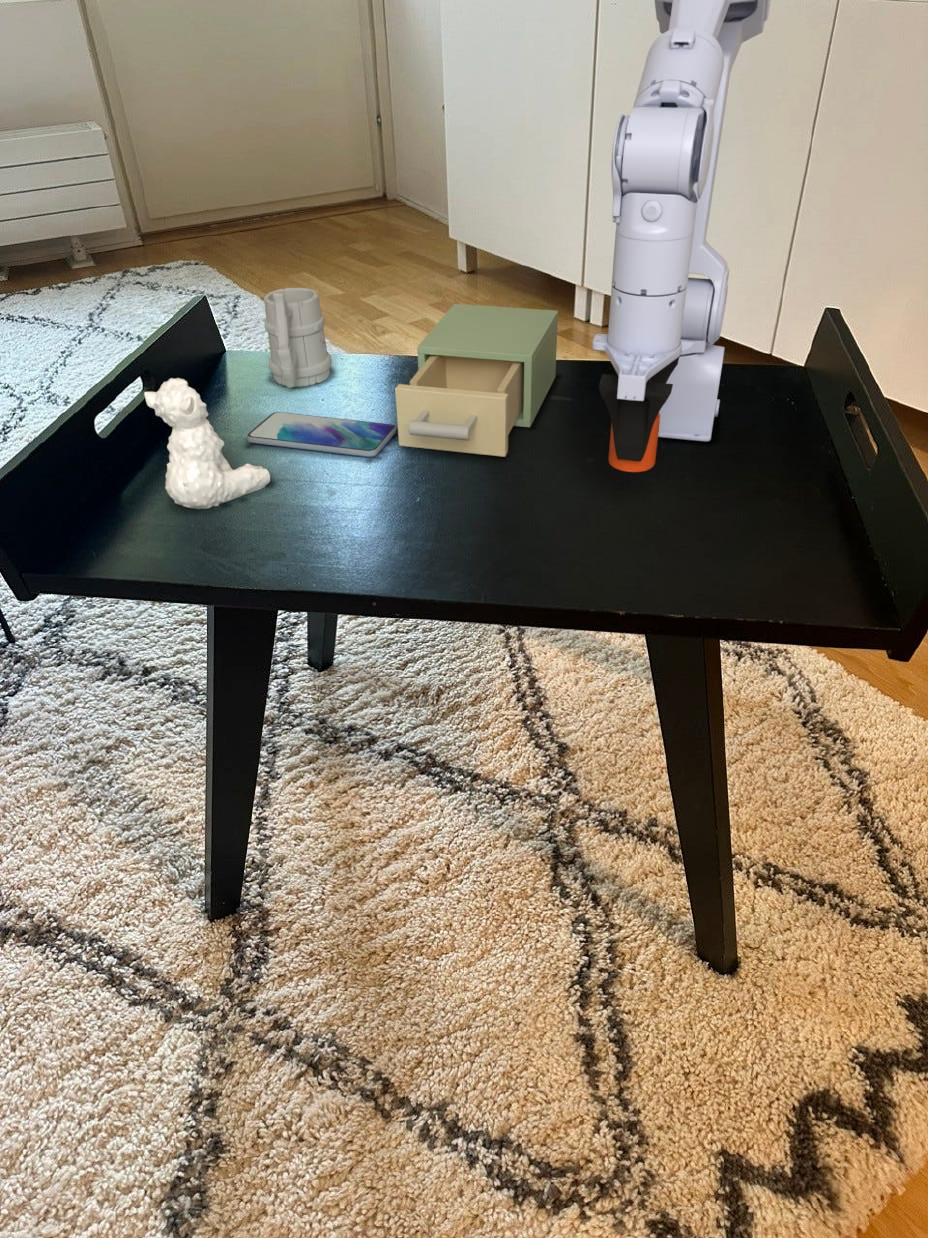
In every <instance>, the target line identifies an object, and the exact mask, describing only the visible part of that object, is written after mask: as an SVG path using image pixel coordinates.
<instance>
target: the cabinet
mask: <svg viewBox="0 0 928 1238" xmlns="http://www.w3.org/2000/svg"><path fill="white" fill-rule="evenodd" d="M558 324H559V311H558V310H556V309H555V310H553V309H538V308H524V307H511V306H509V307H508V306H497V305H496V306H495V305H482V304H481V305H480V304H466V303H465V304H463V303H454V304H453V305H452V306H451V307H450V308H449V309H448V310H447V312H446V313H445V314H444V315H443V317H441V319H439V321H438V322H437V323H436V324H435V325H434V327H433V328H432V329H431V330H430V331H429V332H428V333H427V335H425V337H424V338H423V339H422V341H421V342H419V344H418V345H417V346H416V351H417V352H416V353H417V372H418V371H419V369H420V368H421V367H422V366H423V364H424V363H425V362H426V361H427V360H428V358H429V357H430V356H431V355H442V356H454V357H467V358H479V359H491V360H504V361H516V362H524V407H523V409H522V411H521V412H520V414H519V416H518V418H517V420H516V422H515V424H514V425H513V427H523V428H531V426H532V425H533V423H534V421H535V418H536V416H537V415H538V413H539V411H540V409H541V406H542V405H543V403H544V400H545V398H546V397H547V395H548V392H549V390H550V388H551V386H552V385H553V383H554V381H555V380H556V379H555V378H556V373H557V372H556V371H557V349H558Z"/></svg>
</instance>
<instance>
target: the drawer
mask: <svg viewBox="0 0 928 1238" xmlns="http://www.w3.org/2000/svg"><path fill="white" fill-rule="evenodd" d="M394 393H395V395H394V396H395V407H396V421H397V435H398V446H400V447H409V448H419V449H428V450H436V451H447V452H456V453H465V454H474V455H484V456H493V457H504V458H505V457H507V454H508V452H509V436H510V433H511V431H512V430H513V427H514V426H513V425H514V424H515V422H516V420H517V418H518V416H519V414H520V412H521V411H522V409H523V407H524V362H516V361H504V360H491V359H479V358H467V357H454V356H442V355H431V356H430V357H429V358H428V360H427V361H426V362H425V363H424V364H423V366H422V367H421V368H420V369H419V371H418V370H417V371H416V373H415V374H414V375H413V376H412V378H411V379H410V380H409V384H402V383H398V384H397V385H396V387H395V388H394Z"/></svg>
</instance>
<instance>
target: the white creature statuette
mask: <svg viewBox="0 0 928 1238" xmlns="http://www.w3.org/2000/svg"><path fill="white" fill-rule="evenodd" d="M143 395H144V399H145V402H146V405H147V406H148V407H149V408H150V409H154V413H155V416H156V417H160V418H161V419H162V420H163V422H164V423H165V424H167V426H169V427H171V428H172V429H171V434H170V436H168V443H167V445H166V448H167V450H168V452H169V455H168V460H169V462H167V464H166V472H165V483H164V484H165V490H166V493H167V494H168V496H169V497H170V498H171V499H172V500H173V501H174V504H176V505H179V506H182V507H185V508H188V509H192V510H206V509H210V508H212V507H218V506H220V505H221V504H224V503H227V502H230V501H232V500H234V499H237V498H241V497H243V496H246V495H248V494H251V493H254V492H257V491H260V490H263V489H265V488H266V486H267V485H269V484H270V482H271V474H270V471H268V469H267V468H264V467H263V466H262V465H255V464H253V465H252V464H251V463H245V464H244V465H243V466H239V467H238V468H236V469H233V468H232V467H231V465H230V463H229V461H228V460H227V459H226V458H225V456H224V455H223V451H222V449H223V447H224V446H225V441H224V440H223V439H221V438H220V437H219V435H218V432H215V430H214V427H213V426H212V424H211V423H210V421H209V420H208V418H207V417H208V416H209V412H208V411H207V406H208V405H207V404H206V403H205V402H203V401H202V399H201V395H200V393H198V392H197V391H196V389H195V388H193V387H190V386H189V383H188V381H187V380H185V379H184V378H180V377H176V378H173V377H171V378H168V380H166V381H163V383H162V384H161V385H160V387H159V389H158V390H157V391H144V392H143Z"/></svg>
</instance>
